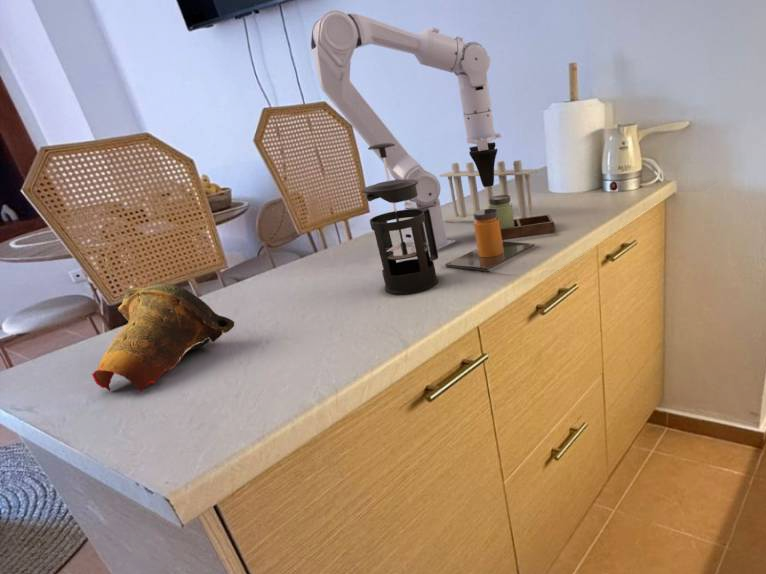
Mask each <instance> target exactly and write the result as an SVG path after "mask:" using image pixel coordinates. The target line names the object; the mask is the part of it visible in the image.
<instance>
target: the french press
mask: <svg viewBox="0 0 766 574" xmlns="http://www.w3.org/2000/svg"><path fill="white" fill-rule="evenodd" d="M392 146H395V144H392V143H382V144H377V145H373V146H371V147H370V146H369V147H368V148H367V149H368V150H372V151H373V149H379V152H380V156H381V158H383V161H384V163H383V165H384V171H385V174H386V179H387V180H386V181H382V182H377V183H375V184H371V185H368V186H365V187H363V188H362V189H361V192H362V193H363V194H365V196H366V200H367V202H372V201H374V200H377V199H382V200H383V201H386V202H388V203H390V204H392V207H393V211H389V212H385V213H381V214H378V215H375V216H373V217H371V218H370V219H369V224H370V229H371V230H372V231H373V232H374V236H375V240H376V245H377V248H378V252H379V253H378V254H379V257H380V260H381V265H382V270H381V274H382V277H383V282H384V291H385V293H387V294H388V295H389V294H390V295H392V296H393V295H394V296H407V295H413V294H418V293H422V292H425V291H428V290H430V289H432V288H433V287H435V286H437V285H438V283H439V277H438V276H437V273H436V268H435V263H434V261H436V260H438V259H439V253H438V249H437V248H436V242H435V237H434V232H433V227H432V221H431V216H430V211H429V209H425V208H421V209H409V210H404V209H401V210H397V206H396V204H398V203H402V202H405V201H406V200H410V199H413V198H415V197H417V196H418V194H417V189H416V185H417V184H418V181H417V180H395V179H392V180H391V178H390V172H389V169H388V167H387V164H386V159H385V158H386V157H387V155H386V150H385V148H387V147H392ZM409 217H414V218H410V219H407V220H402V221H399V219H400V218H409ZM393 220H395V221H393ZM396 220H397V222H396ZM390 221H391V222H390ZM423 222H424V224H425V230H426V235H427V240H428V244H427V241H426V236H425V231H424V226H423ZM410 227H411V230H412V234H413V239H414V242H411V243H405V242H403V237H402V232H401V229H406V228H410ZM398 230H399V233H400V238H401V243H400V242H399V243H398V244H395V245H393V241H392V237H391V233H390V232H393V231H398ZM428 246H429V250H430V253H429V251H428Z"/></svg>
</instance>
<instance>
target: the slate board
mask: <svg viewBox="0 0 766 574" xmlns="http://www.w3.org/2000/svg"><path fill="white" fill-rule="evenodd" d="M534 246H535V243H530V242H529V243H528V242H527V243H526V242H518V241H517V242H515V241H514V242H513V241H503V249H504V252H503V253H502V254H501V255H498V256H494V257H480V256H479V255H478V249H477V248H475V249H474V250H472V251H469V252H467V253H466V254H463V255H461V256H459V257H457V258H455V259H453V260H450V261H449V262H446V263H445V267H446V268H447V269H453V270H462V271H469V272H470V271H471V272H479V273H490V272H491V270H490V269H492V268H494V267H496V266H498V265H500V264H502V263H505V262H506V261H508V260H510V259H511V258H513V257H516V256H517V255H519V254H521V253H523V252H525V251H527V250H528V249H529V250H530V249H531V248H532V247H534Z"/></svg>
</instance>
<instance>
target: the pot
mask: <svg viewBox="0 0 766 574" xmlns="http://www.w3.org/2000/svg"><path fill="white" fill-rule="evenodd" d="M117 309H118V312H119V313H120V314H122V317H124V318H125V320H126V321H128V322H127V323H126V325H125V326H123V327H122V329H121V330H119V332H118V333H117V334H116V335H115V337H114V338H113V340H112V341H111V343H110V344H109V345H108V348H106V351H105V352H104V354H103V356H102V357H101V360H100V362H99V365H98V366H97V370H94V371H93V373H92V374H91V375H92V378H93V379H94V380H93V381H94V382H95V384H97V385H98V386H99V387H100V388H101V389H107V391H108V392H111V387H110V384H111V382H112V379H113V376H114V375H119V376H121V377H123V378H125V379H126V380H128V381H129V382H130V383H131V384H133V385H134V386H135V387H136V388H137V390H139V391H140V393H142V392H143V389H145V388H146V386H148V385H149V384H156V382H157V379H159V378H160V377H161V376H162V375H163V374H164V373H165V372H166V371H169V370H171V369H173V368H174V367H176V365H177V364H178V363H180V360H181V359H182V358H183V357H184V355H185V354H186V353H188V352H190V351H191V350H195V349H198V348H203V347H204V346H206V345H207V344H208V343H209V342H210V341H211V342H212V343H214V342H217V340H218V339H219V338H220V337H222V336H223V334H227V333H229V332H230V331H232V330H233V329H234V327H235V322H236V321H234V320H233V319H231V318H228V317H226V316H223V315H219V314H218V313H216V312H215V311H214V310H213V309H212V307H210V306H209V305H208V304H207V303H206V302H204V300H203V299H201V298H200V297H198V296H196V295H195V294H194V293H192V292H190V291H189V290H188V289H186V288H184V287H182V286H179V285H177V284H171V283H154V284H150V285H147V286H146V287H141V286H140V287H139V286H137V287H132V288H130V289H128V290H126V291H125V293H124V295H123V299H122V302H121V304H120V305H119V306H118V308H117Z"/></svg>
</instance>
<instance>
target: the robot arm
mask: <svg viewBox="0 0 766 574" xmlns="http://www.w3.org/2000/svg"><path fill="white" fill-rule="evenodd" d="M370 45H374V46H378V47H382V48H387V49H390V50H394V51H400V52H403V53H407V54H410V55H411V54H412V55H414V57H415V58H416V60H417V61H418V62H419V64H420V65H422V66H426V67H429V68H433V69H435V70H436V69H437V70H440V71H444V72H448V73H453V74H454V75H455V76H456V77H457V82H458V88H459V94H460V101H461V108H462V114H463V120H464V127H465V133H466V134H465V135H466V143H467V144H471V145H474V146H470V147H469V152H468V154H469V156H470V158H471V159H472V162H473V163H474V165H475V166H476V169H477V171H478V172H479V175H480V176H479V179H480V181H481V184H482V186H483V188H484V187H488V186H492V187H494V183H495V176H494V170H495V163H496V157H497V155H498V148H496V142H494V140H497V139H499V138H502V135H501V133H500V132H497V133H495V125H494V118H493V112H492V103H491V96H490V90H489V81H488V75H487V72H488V70H489V68H490V65H491V57H490V56H488V53H487V50H486V49H485V47H483V45H482V44H481V43H479V42H477V41H470V42H466V43H465V42H464V37H462V36H459V35H458V36H456V37H453V36H449V35H447V34H443V33H440V29H439V28H437V27H430V29H427V28H426V29H423V30H422V31H420V32H419V33H417V34H416V33H413V32H411V31H408V30H404V29H402V28H399V27H398V26H397V27H396V26H393V25H391V24H388V23H385V22H382V21H379V20H376V19H374V18H371V17H368V16H364V15H361V14H358V13H351V12H348V13H345V12H344V11H341V10H338V9H331V10H328V11H326V12H325V13H324V14H322V16H321V17H320V18H319V19H318V20H316V21H315V22H314V24H313V26H312V29H311V34H310V45H309V48H310V51H311V55H312V57H313V62H314V66H315V71H316V73H317V74H316V75H317V80H318V84H319V87H320V89H321V90H322V92H323V93H324V94H325V96H326V97H327V98H329V100H330V101H331V102H332V104H333V105H334V106H335V107H336V109H337V110H338V111H339V112H340V114H341V115H343V117H344V118H345V119H346V120H347V121H348V123H349V124H350V125H351V126H352V128H354V130H355V131H356V132H357V133H358V134H359V136H360V137H361V138H362V139H363V140H364V142H365V143H366V144H367V145H368V146H369V147H371V146H373V145H377V144H382V143H392V144H395V146H392V147H387V148H385V150H386V155H387V157H386V158H385V159H386V164H387V168H388V172H389V174H390V175H391V176H392V178H393V180H417V181H418V184H417V185H416V189H417V194H418V196H417V197H415V198H413V199H410V200H406V201H404V204H403V205H404V209H403V210H409V209H421V208H425V209H429V211H430V216H431V221H432V227H433V232H434V237H435V242H436V248H437V250H440V249H442V248H444V247H446V246H449V245H451V244H453V243H455V242H456V240H454V239H447V235H446V230H445V229H446V228H445V224H444V219H443V213H442V212H443V211H442V207H441V203H440V198H439V197H440V195H441V184H440V180H439V179H438V178H437V176H436V175H435V174H434V173H432V172H429V171H427V170H426V169H425V168H424V167H423V166H422V165H421V164H420V162H418V161H417V160H416V159H414V158H413V157H412V155H411V154H409V153H408V151H407V150H406V149H405V148H404V147H403V145H402V143H400V141H399V140H398V139H397V138H396V136H395V135H394V134H393V133H392V131H391V130H390V129H389V128H388V126H387V125H386V124H385V123H384V121H383V120H382V119H381V118H380V117H379V115H378V114H377V113H376V112H375V111H374V109H373V107H372V106H371V105H370V104H369V103H368V102H367V101H366V99H365V98H364V97H363V95H361V93H360V92H359V90H358V89H357V88H356V87H355V86H354V84H353V83H352V82H351V65H352V64H351V61H352V57H353V55H354V52H355V50H356V49H359V48H363V47H365V46H370ZM492 141H493V142H492ZM372 151H373V153H374V154H376V156H377V157H378V158H379V159H380V161H381V162H382V163H383V164H384V161H383V158H381V156H380V152H379V149H373V150H372ZM410 218H414V217H409V218H400V219H399V221H402V220H407V219H410ZM395 222H397V220H396V219H395ZM423 226H424V231H425V236H426V241H427V244H428V240H427V235H426V230H425V224H424V222H423ZM401 232H402V237H403V242H405V243H411V242H414V239H413V234H412V230H411V227H410V228H406V229H401ZM397 234H398V235H397V236H398V240H399V244H400V243H401V238H400V233H399V230H397ZM428 251H429V254H430V250H429V246H428Z"/></svg>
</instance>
